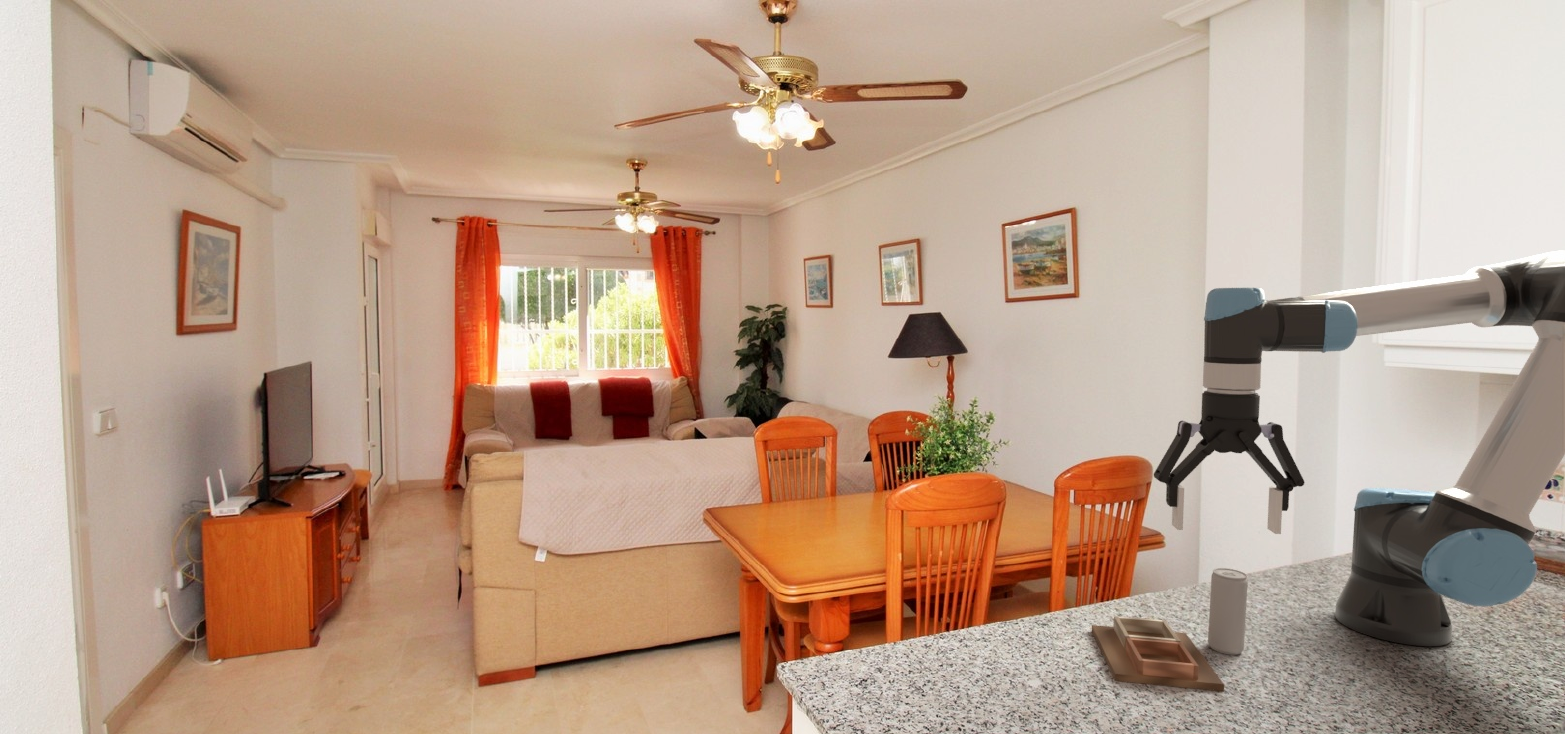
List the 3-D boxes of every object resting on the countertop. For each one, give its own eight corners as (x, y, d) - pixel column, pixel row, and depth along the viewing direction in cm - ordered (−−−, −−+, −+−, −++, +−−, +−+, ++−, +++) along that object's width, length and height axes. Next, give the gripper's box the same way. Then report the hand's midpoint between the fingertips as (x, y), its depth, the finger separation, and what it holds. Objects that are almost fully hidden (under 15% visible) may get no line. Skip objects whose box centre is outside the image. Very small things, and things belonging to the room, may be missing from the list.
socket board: (1185, 639, 123) (1186, 620, 123) (1223, 691, 106) (1224, 669, 106) (1091, 631, 126) (1092, 613, 126) (1114, 680, 109) (1115, 659, 109)
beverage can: (1248, 657, 117) (1253, 579, 116) (1213, 654, 118) (1218, 577, 117) (1236, 643, 122) (1241, 569, 121) (1203, 641, 123) (1207, 566, 122)
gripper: (1309, 389, 118) (1303, 526, 120) (1135, 387, 123) (1131, 519, 124) (1335, 394, 111) (1328, 540, 113) (1149, 392, 115) (1144, 532, 117)
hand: (1225, 529), depth 119 cm, fingers open, 13 cm apart
